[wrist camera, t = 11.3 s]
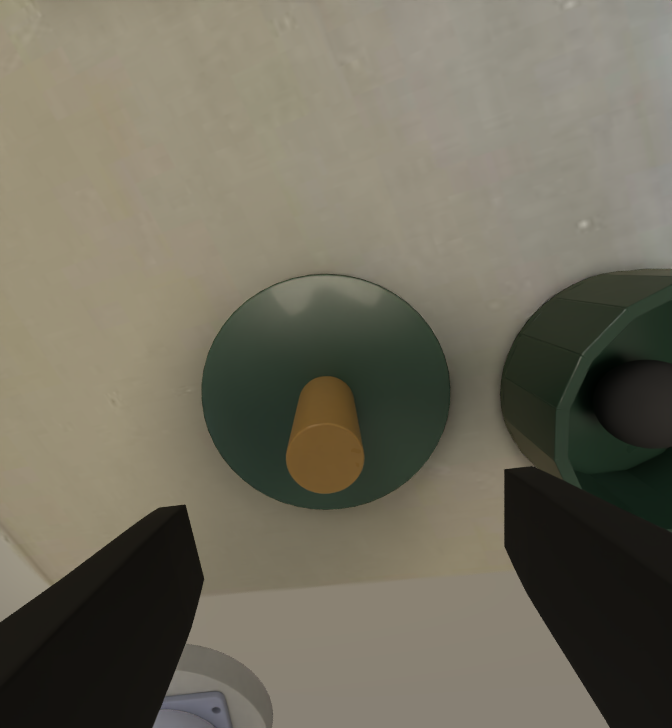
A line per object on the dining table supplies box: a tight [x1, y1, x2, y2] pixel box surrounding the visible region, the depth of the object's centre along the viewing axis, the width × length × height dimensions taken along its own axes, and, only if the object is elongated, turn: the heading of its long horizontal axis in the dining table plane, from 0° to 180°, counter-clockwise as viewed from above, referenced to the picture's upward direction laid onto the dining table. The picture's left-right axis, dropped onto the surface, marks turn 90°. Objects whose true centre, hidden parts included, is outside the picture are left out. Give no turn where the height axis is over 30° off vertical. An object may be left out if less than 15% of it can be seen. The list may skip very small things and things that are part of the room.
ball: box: [593, 360, 672, 449], centre depth 15 cm, size 4×4×4 cm
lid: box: [202, 274, 450, 510], centre depth 14 cm, size 11×11×6 cm
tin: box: [500, 269, 672, 532], centre depth 15 cm, size 10×10×4 cm
